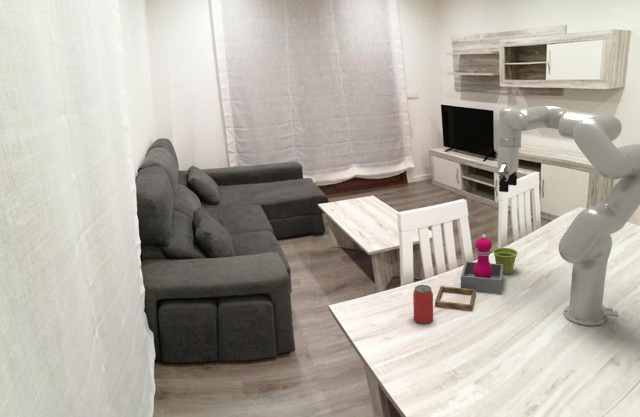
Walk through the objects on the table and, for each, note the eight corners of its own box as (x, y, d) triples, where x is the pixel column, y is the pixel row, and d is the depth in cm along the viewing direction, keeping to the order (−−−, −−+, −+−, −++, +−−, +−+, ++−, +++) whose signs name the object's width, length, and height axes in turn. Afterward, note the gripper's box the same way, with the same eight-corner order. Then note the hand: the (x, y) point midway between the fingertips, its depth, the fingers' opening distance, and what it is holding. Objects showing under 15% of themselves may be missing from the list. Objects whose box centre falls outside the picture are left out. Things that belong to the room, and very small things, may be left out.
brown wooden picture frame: (475, 294, 182) (475, 289, 181) (472, 311, 170) (472, 306, 170) (440, 290, 187) (440, 285, 186) (434, 306, 175) (434, 301, 175)
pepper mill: (493, 279, 190) (495, 232, 184) (490, 287, 184) (492, 238, 178) (474, 277, 194) (475, 230, 188) (471, 284, 188) (472, 236, 182)
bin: (502, 277, 193) (503, 264, 191) (501, 294, 180) (501, 280, 178) (465, 274, 199) (465, 261, 197) (460, 290, 186) (460, 276, 184)
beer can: (422, 326, 163) (421, 294, 160) (409, 318, 169) (409, 287, 165) (437, 320, 166) (437, 289, 163) (424, 312, 172) (424, 282, 168)
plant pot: (520, 275, 194) (521, 255, 191) (496, 277, 194) (497, 257, 191) (511, 266, 203) (512, 246, 200) (489, 267, 203) (489, 248, 200)
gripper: (506, 137, 181) (505, 181, 186) (490, 146, 168) (489, 193, 173) (527, 138, 177) (525, 183, 182) (513, 147, 164) (511, 195, 169)
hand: (507, 188), depth 178 cm, fingers open, 9 cm apart
